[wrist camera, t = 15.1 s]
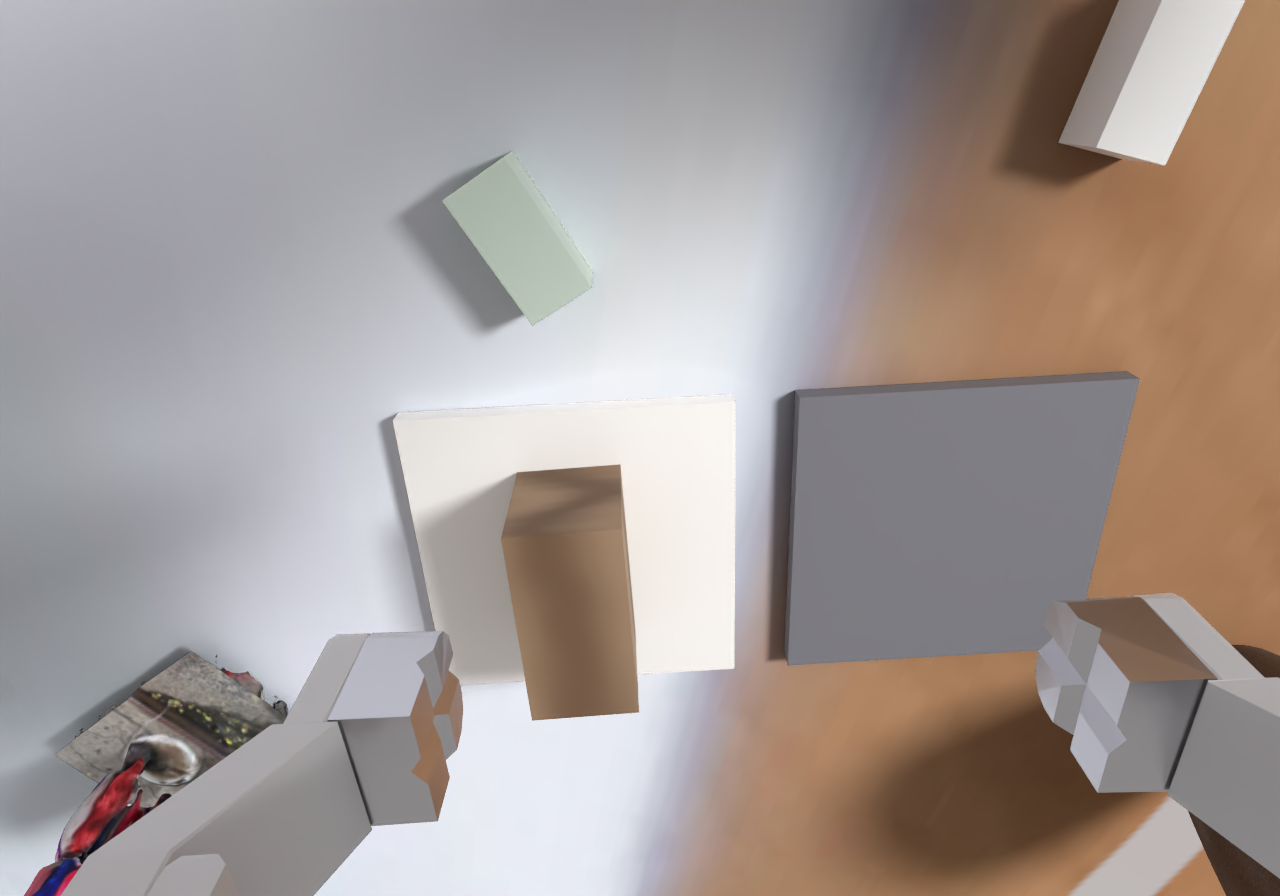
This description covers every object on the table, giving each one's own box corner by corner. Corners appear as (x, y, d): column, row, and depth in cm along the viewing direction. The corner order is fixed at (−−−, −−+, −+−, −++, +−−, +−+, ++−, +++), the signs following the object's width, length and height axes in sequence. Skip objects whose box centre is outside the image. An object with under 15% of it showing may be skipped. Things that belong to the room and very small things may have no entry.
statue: (206, 814, 48) (46, 1102, 34) (77, 726, 45) (-157, 1007, 31) (331, 733, 45) (211, 1009, 32) (204, 633, 42) (9, 894, 28)
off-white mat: (732, 393, 37) (735, 401, 36) (731, 656, 44) (734, 668, 43) (398, 412, 37) (392, 420, 36) (449, 673, 43) (446, 685, 43)
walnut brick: (620, 464, 37) (621, 529, 32) (635, 629, 41) (638, 712, 36) (517, 472, 37) (500, 538, 32) (542, 637, 41) (532, 720, 36)
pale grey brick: (1123, -19, 30) (1174, -29, 27) (1191, 1, 30) (1248, -7, 28) (1055, 142, 33) (1096, 147, 30) (1119, 158, 33) (1165, 165, 30)
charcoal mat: (1126, 371, 37) (1139, 378, 36) (1064, 636, 44) (1073, 648, 43) (795, 390, 37) (799, 397, 36) (784, 653, 44) (787, 665, 43)
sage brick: (456, 190, 33) (441, 200, 30) (513, 150, 32) (503, 156, 29) (538, 307, 35) (532, 326, 32) (593, 271, 34) (591, 287, 32)
